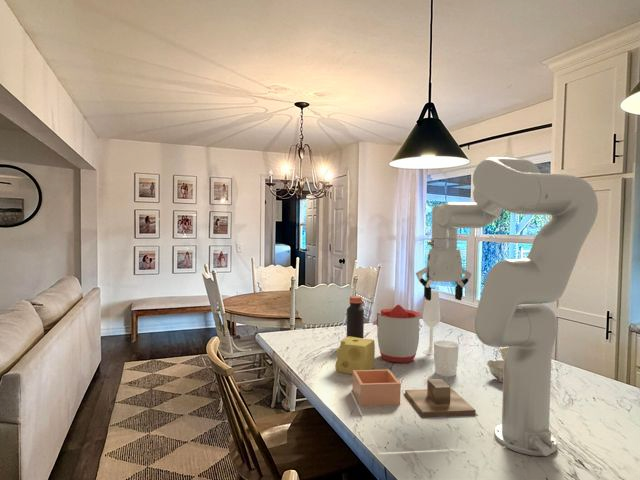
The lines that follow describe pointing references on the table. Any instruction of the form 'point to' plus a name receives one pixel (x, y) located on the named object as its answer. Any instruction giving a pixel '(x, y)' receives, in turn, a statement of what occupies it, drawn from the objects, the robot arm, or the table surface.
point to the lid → (439, 400)
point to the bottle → (355, 318)
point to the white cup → (446, 357)
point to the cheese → (355, 355)
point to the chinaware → (497, 366)
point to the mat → (434, 416)
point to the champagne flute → (431, 317)
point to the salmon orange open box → (376, 387)
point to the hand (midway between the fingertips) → (443, 299)
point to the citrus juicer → (398, 334)
